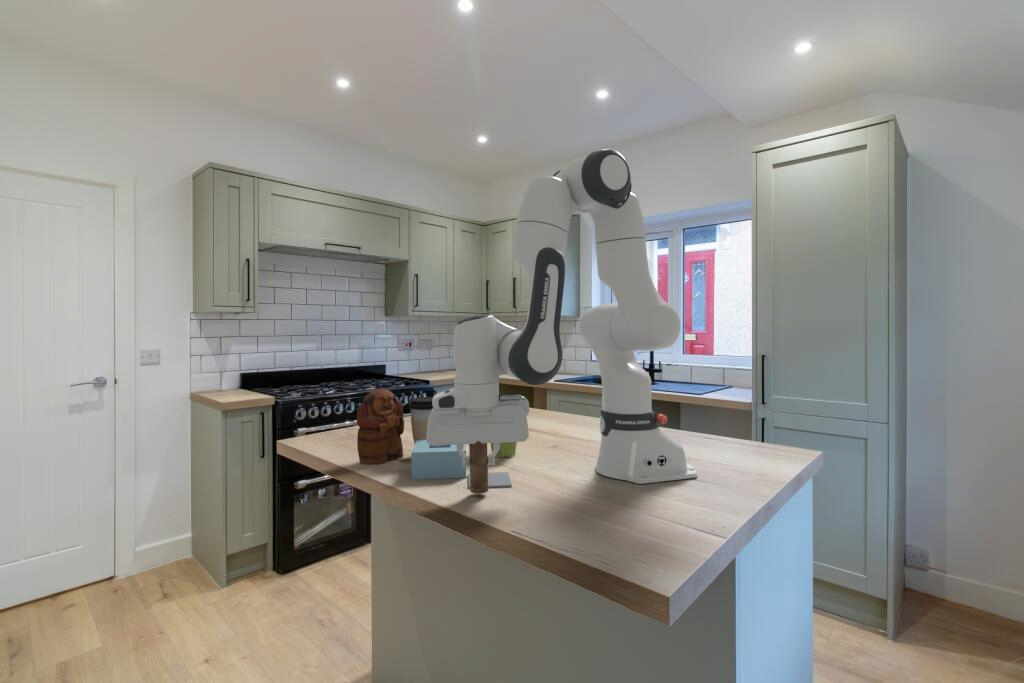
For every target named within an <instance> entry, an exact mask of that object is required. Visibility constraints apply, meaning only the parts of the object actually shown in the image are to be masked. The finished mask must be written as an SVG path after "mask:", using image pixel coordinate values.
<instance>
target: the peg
mask: <svg viewBox="0 0 1024 683" xmlns="http://www.w3.org/2000/svg"><path fill="white" fill-rule="evenodd" d="M468 447H469V448H468V451H469V452H468V453H469V454H468V455H469V457H470V466H469V474H470V490H469V491H470V493H471V494H472V493H473V494H476V495H477V494H478V495H479V494H480V495H481V494H485V493H487V492H489V488H488V473H489V465H488V459H487V456H488V443H481V442H480V441H477V442H476V443H475V444H468Z"/></svg>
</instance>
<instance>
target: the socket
mask: <svg viewBox="0 0 1024 683" xmlns="http://www.w3.org/2000/svg"><path fill="white" fill-rule="evenodd" d="M463 452H464V454H465V455H466V456H467V444H464V449H463ZM410 453H411V454H410V455H411V480H431V479H434V480H436V479H438V480H439V479H460V478H461V479H463V478H467V466H463V464H462V458H461V456H460V455H459V453H458V452H457V448H456V445H439V446H430V445H429V444H428V442H427V440H416V442H415V445H414V444H413V448H412V450H411V452H410Z"/></svg>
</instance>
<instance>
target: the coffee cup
mask: <svg viewBox="0 0 1024 683" xmlns="http://www.w3.org/2000/svg"><path fill="white" fill-rule="evenodd" d="M433 397H434V396H421V397H419V396H418V397H413V398H411V399H410V402H409V403H408V404H407V405H408V406H407V409H409V410H410V425H411V433H412V440H413V443H414V444H413V446H414V445H415V442H416V440H427V439H426V436H427V424H428V418H429V415H430V412H431V410H432V409H433V405H432V399H433Z"/></svg>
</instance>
